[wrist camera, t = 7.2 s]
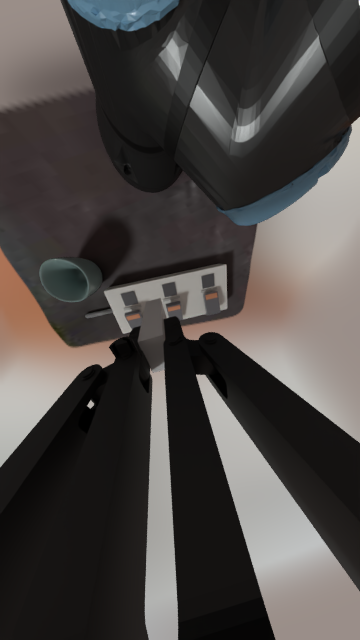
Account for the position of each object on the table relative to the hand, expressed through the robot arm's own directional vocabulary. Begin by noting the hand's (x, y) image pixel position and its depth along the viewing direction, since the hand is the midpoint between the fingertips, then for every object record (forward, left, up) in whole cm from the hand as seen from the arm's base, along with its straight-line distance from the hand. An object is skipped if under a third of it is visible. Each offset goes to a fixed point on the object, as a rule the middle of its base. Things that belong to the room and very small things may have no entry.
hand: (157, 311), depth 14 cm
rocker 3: (+9, +13, -19) cm, 24 cm away
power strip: (+6, -2, -24) cm, 25 cm away
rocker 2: (+9, +3, -19) cm, 21 cm away
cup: (-4, -15, -25) cm, 29 cm away
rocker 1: (+9, -7, -19) cm, 22 cm away
